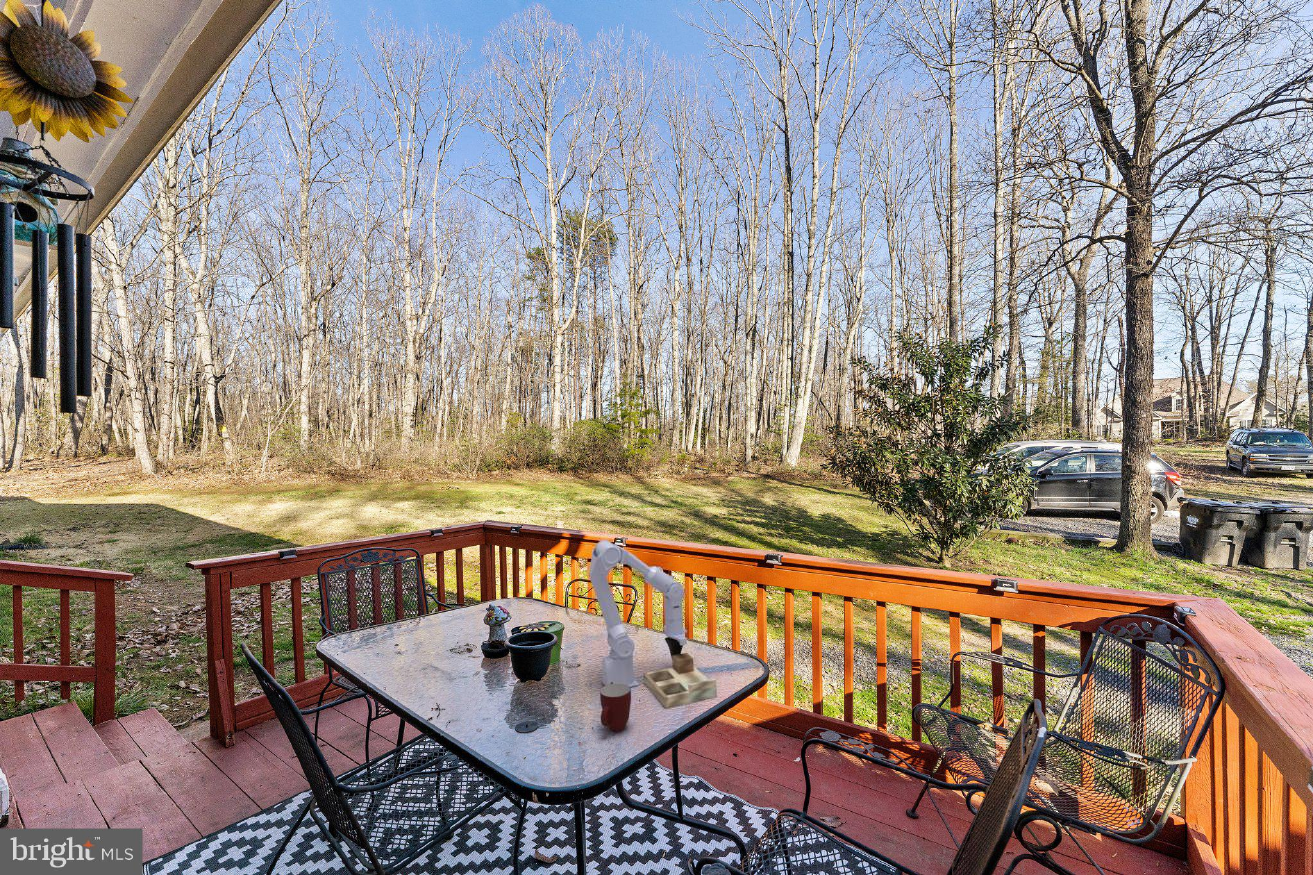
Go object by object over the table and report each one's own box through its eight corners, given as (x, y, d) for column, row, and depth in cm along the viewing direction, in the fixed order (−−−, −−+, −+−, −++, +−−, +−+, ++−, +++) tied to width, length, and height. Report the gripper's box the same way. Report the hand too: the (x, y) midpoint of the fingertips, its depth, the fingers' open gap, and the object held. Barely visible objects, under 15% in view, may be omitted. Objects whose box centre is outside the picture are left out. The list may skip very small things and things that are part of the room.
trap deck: (665, 708, 158) (664, 690, 158) (644, 683, 175) (643, 667, 175) (716, 696, 164) (716, 679, 164) (691, 673, 180) (690, 657, 180)
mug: (620, 743, 141) (618, 703, 141) (592, 738, 144) (590, 699, 144) (637, 722, 151) (635, 685, 151) (610, 718, 154) (608, 681, 154)
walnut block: (678, 674, 173) (678, 661, 173) (672, 668, 178) (672, 655, 178) (693, 671, 175) (693, 658, 175) (687, 665, 179) (686, 652, 179)
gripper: (694, 622, 176) (696, 666, 176) (676, 609, 190) (678, 650, 190) (673, 626, 174) (675, 670, 174) (657, 613, 187) (658, 654, 187)
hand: (675, 660), depth 182 cm, fingers closed
